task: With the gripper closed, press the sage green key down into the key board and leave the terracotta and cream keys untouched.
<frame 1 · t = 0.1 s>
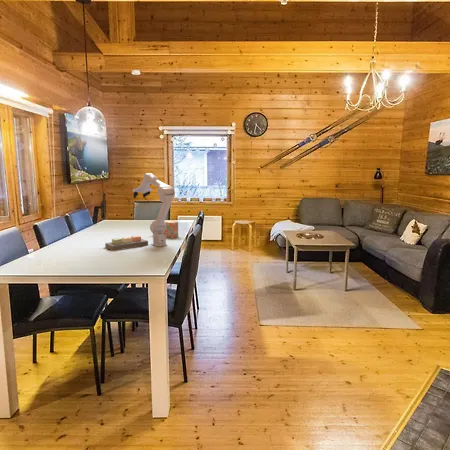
hand: (138, 197, 265), 32 cm above the table, tool tilted 50°, fingers open, 7 cm apart
key board: (127, 246, 244), on the table
cream key: (126, 240, 244), point 4 cm above the table, slide at 0.0 cm
stack of blocks: (165, 236, 280), on the table
green key: (117, 241, 239), point 4 cm above the table, slide at 0.0 cm
terracotta key: (136, 238, 248), point 4 cm above the table, slide at 0.0 cm
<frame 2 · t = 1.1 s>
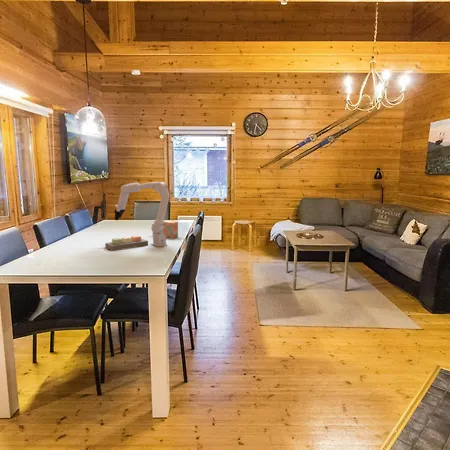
hand: (117, 218, 250), 18 cm above the table, tool tilted 20°, fingers open, 7 cm apart
nothing on the table moved.
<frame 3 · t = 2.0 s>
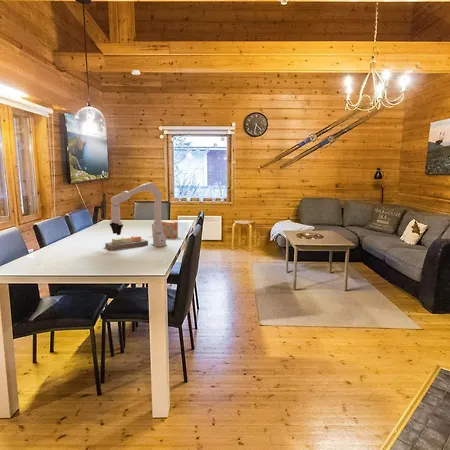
hand: (116, 234, 239), 9 cm above the table, tool pointing down, fingers open, 6 cm apart
nothing on the table moved.
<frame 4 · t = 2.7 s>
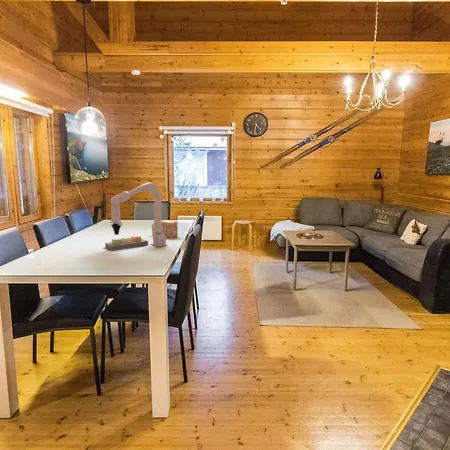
hand: (116, 234, 239), 9 cm above the table, tool pointing down, fingers closed
nothing on the table moved.
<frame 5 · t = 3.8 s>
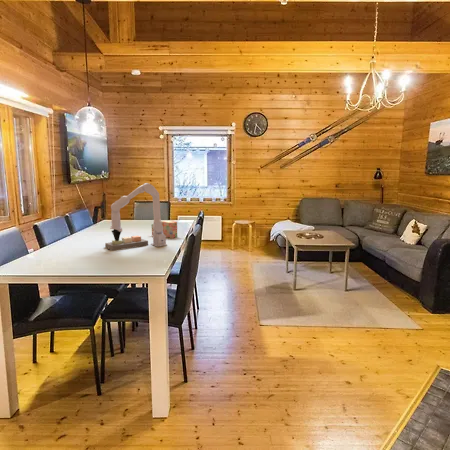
hand: (116, 240, 239), 5 cm above the table, tool pointing down, fingers closed, pressing on green key
green key: (117, 242, 239), point 3 cm above the table, slide at -1.0 cm, touching gripper
everything else where it was.
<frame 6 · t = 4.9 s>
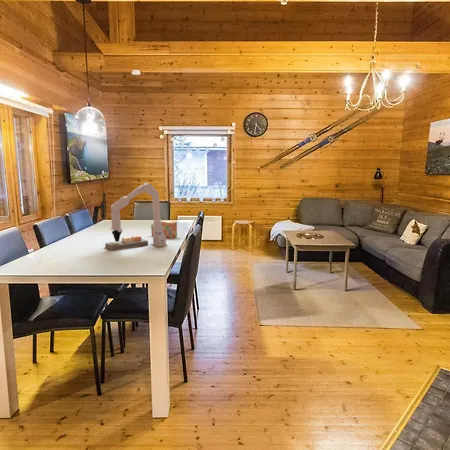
hand: (117, 241, 239), 4 cm above the table, tool pointing down, fingers closed
green key: (117, 245, 240), point 2 cm above the table, slide at -2.6 cm
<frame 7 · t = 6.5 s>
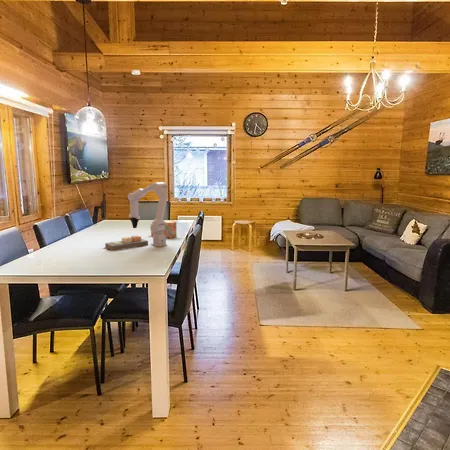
hand: (134, 227, 257), 10 cm above the table, tool pointing down, fingers closed
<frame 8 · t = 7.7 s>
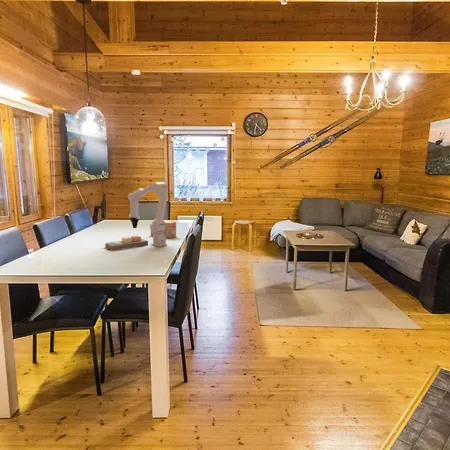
hand: (134, 227, 257), 10 cm above the table, tool pointing down, fingers closed
at the end: green key slide at -2.6 cm; terracotta key slide at 0.0 cm; cream key slide at 0.0 cm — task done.
